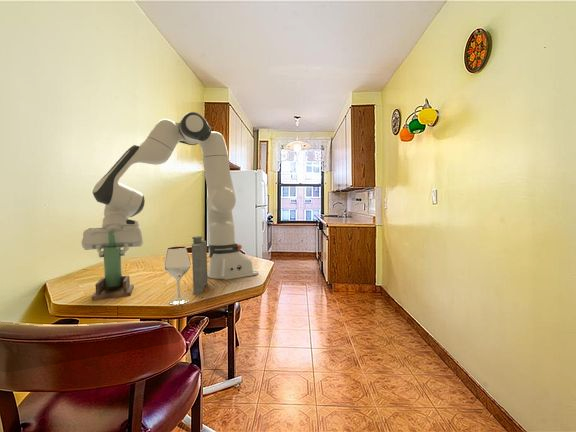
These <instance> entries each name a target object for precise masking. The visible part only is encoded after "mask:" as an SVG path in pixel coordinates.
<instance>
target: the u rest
mask: <svg viewBox="0 0 576 432" xmlns="http://www.w3.org/2000/svg"><path fill="white" fill-rule="evenodd" d="M130 281H131V280H130V275H129V274H128V275H122V285H119V286H115V287H105V277H100V278H99V280H98V281H97V282H96V284H95V292H94V293H93V295H91V300H92V301H95V300H102V299H111V298H112V297H113V298H121V297H128V296H131V295H132V294H133V293H132V292H133V291H134V287H135V285H134V284H130V283H131V282H130ZM132 290H133V291H132Z"/></svg>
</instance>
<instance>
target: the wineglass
mask: <svg viewBox="0 0 576 432" xmlns="http://www.w3.org/2000/svg"><path fill="white" fill-rule="evenodd" d="M189 255H190V254H189V251H188V249H187V246H172V247H167V249H166V253H165V259H164V263H163V268H164V270H165V271H166V272H167V273H168V274H169V275H170V276H172V278H174V279H175V281H176V286H177V298H175V299H174V298H173V299H171V300H169V301H168V304H169V305H173V306H177V305H178V306H179V305H184V304H187V303H189V302H190V299H189V298H186V297H181V285H180V283H181V282H180V281H181V278H182V277H184V275H185V274H187V273H188V271H190V268H191V266H192V265H191V259H190V256H189Z"/></svg>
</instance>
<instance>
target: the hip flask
mask: <svg viewBox="0 0 576 432" xmlns="http://www.w3.org/2000/svg"><path fill="white" fill-rule="evenodd" d="M191 239H192V242H193V243H191V261H192V265H191V266H192V288H193V295H202V294H203V290H204V288H205V287H206V286H207V285H208V284H209V281H208V280H209V277H208V275H207V274H208V251H207V240H202V239H203V236H192V238H191ZM205 285H206V286H205ZM204 286H205V287H204ZM201 293H202V294H201Z"/></svg>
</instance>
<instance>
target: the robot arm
mask: <svg viewBox="0 0 576 432" xmlns="http://www.w3.org/2000/svg"><path fill="white" fill-rule="evenodd" d="M179 143H181V144H184V145H187V146H196V145H199V147H200V149H201V154H202V155H201V157H202V163H203V171H204V178H205V183H206V187H207V193H208V196H207V197H206V207H207V209H206V210H207V219H208V230H209V231H208V232H209V237H208V238H209V244H208V257H209V264H208V265H209V266H208V269H207V275H208V279H215V280H216V279H218V280H226V281H227V280H233V279H239V278H245V277H250V276H251V277H252V276H257V275H258V274H259V271H258V270H257V269H256V268H255V267H254V266H253V262H252V260H251V259H250V258H249V257H248V256H246V255H245V254H244V253H243V252H241V251H240V250H242V244H237V243H236V240H235V239H236V237H235V236H236V235H235V223H234V218H233V209H234V208H235V206H236V195H235V189H234V184H233V180H232V176H231V175H232V174H231V169H230V161H229V153H228V148H227V144H226V140H225V137H224V135H223V134H221V133H220V132H218V131H212V127H211V126H210V124H209V122H207V120H206V118H205V117H204V116H203V115H202V114H200V113H198V112H196V111H190V112H187V113H186V114H184V115H182V118H181V119H180V122H176V121H173V120H171V119H168V118H163V119H160V120H159V121H158V122H157V123H156V124H155V126H154V127H153V128H152V129H151V131H150V132H149V134H148V135H147V137H146V138H145V140H144V141H143V142H142V143H139V144H133V145H132V146H131V147H129V148H128V149H127V150H126V151H125V152H124V153H123V154H122V155H121V156H120V157H119V159H118V160H117V161H116V162H115V163H114V164H113V166H111V168H110V169H109V170H108V171H107V173H106V174H104V175H103V176H102V177H101V178H100V180H99V181H97V182H96V183H95V185H94V187H93V190H92V195H93V197H94V199H95V201H96V202H98V203H100V204H103V205H105V206H104V210H103V215H104V217H103V218H102V225H101V227H94V228H93V227H89V228H88V229H85V230H84V231H83V234H82V239H81V246H82V248H83V250H85V251H88V250H96V251H97V253H98V258H104V251H103V248H105V247H109V239H108V231H114V234H115V247H116V246H118V247H120V248H121V250H120V255H121V257H125V256H126V253H127V252H128V250H130V248H135V247H136V248H137V247H138V248H139V247H141V246H142V245H143V243H144V241H143V233H142V229H141V227H140V224H139V221H138V220H134V219H130V218H133V217H135V216H137V215H138V214H140V213H141V212H142V211H143V209H144V206H145V200H146V199H145V195H144V194H143V193H142V192H140V191H138V190H136V189H134V188H132V187H129V186H128V185H126V184H123V183H121V182H120V181H119V180H120V179H121V177H122V176H124V174H125V173H126V172H127V171H128V170H129V168H130V167H131V166H132V165H135V164H137V163H140V164H141V163H142V164H147V165H155V166H157V165H162V164H165V163H166V162H167V161H168V160H169V159H170V158H171V156H172V154H173V152H174V150H175V149H176V147H177V144H179Z"/></svg>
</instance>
